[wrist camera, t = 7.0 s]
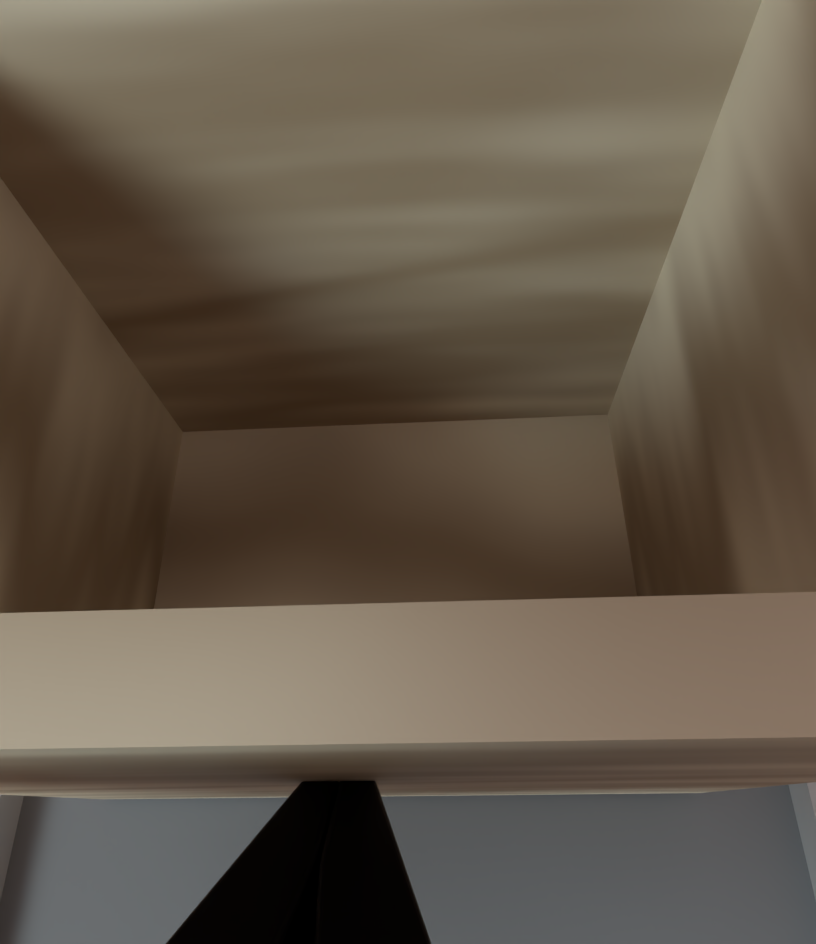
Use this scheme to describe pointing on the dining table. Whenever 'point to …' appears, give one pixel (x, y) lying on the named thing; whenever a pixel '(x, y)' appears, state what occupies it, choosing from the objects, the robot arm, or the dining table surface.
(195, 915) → the robot arm
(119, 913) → the grey tray
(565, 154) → the box
